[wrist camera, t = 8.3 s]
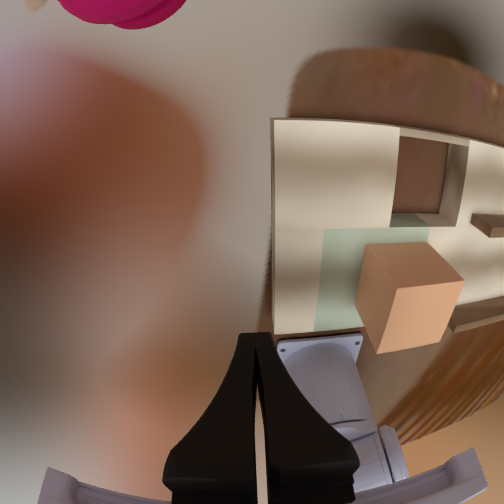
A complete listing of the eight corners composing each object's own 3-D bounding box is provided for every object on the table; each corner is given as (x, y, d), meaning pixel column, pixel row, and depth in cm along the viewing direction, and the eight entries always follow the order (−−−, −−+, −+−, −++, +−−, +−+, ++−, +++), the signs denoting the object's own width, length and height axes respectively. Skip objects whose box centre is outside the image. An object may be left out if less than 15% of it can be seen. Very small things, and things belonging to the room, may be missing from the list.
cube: (411, 298, 21) (439, 341, 16) (354, 304, 21) (376, 354, 16) (426, 241, 18) (464, 280, 14) (365, 243, 18) (397, 288, 14)
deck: (500, 286, 24) (512, 298, 22) (271, 313, 24) (274, 334, 22) (534, 156, 17) (551, 164, 15) (269, 117, 17) (273, 120, 15)
